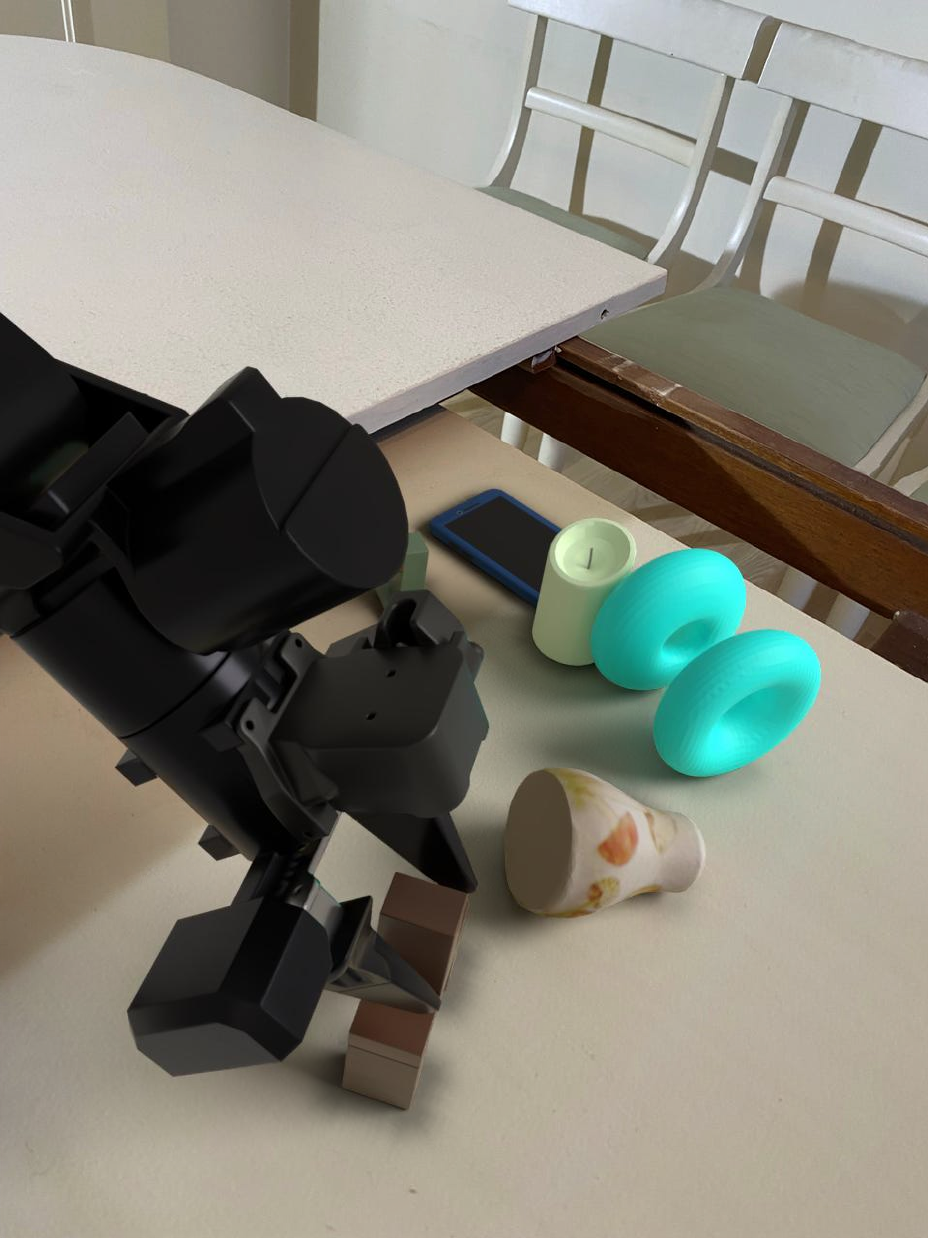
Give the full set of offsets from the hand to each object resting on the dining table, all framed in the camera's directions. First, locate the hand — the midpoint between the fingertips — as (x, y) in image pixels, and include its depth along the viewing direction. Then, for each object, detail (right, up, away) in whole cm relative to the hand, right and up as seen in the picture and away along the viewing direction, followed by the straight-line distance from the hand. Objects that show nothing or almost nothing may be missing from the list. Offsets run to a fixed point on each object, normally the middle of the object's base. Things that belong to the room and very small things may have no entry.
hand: (451, 947), depth 41 cm
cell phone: (+5, +17, +31) cm, 35 cm away
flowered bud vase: (+7, 0, +12) cm, 14 cm away
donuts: (+13, +7, +21) cm, 26 cm away
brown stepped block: (-2, -5, +5) cm, 7 cm away
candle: (+7, +12, +25) cm, 29 cm away
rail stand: (-8, +13, +24) cm, 28 cm away
